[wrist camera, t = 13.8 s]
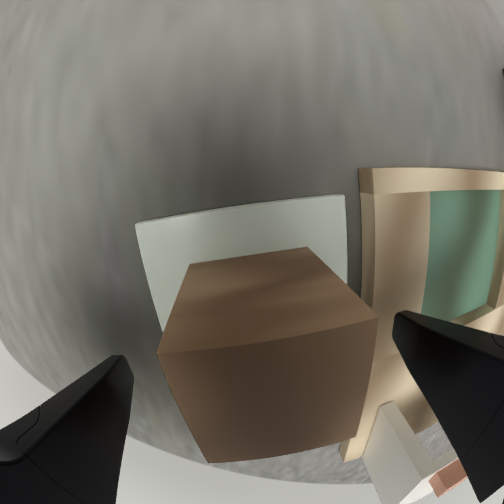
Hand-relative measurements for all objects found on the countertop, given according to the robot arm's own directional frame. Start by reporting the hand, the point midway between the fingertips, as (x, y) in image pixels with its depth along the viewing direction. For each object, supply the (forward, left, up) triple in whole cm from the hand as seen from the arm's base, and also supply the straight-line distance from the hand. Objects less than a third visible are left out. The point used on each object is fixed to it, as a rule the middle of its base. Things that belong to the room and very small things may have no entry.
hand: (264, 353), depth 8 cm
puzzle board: (-12, +5, -4) cm, 14 cm away
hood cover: (-12, +12, -2) cm, 17 cm away
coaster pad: (0, 0, -4) cm, 4 cm away
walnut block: (0, 0, -3) cm, 3 cm away
